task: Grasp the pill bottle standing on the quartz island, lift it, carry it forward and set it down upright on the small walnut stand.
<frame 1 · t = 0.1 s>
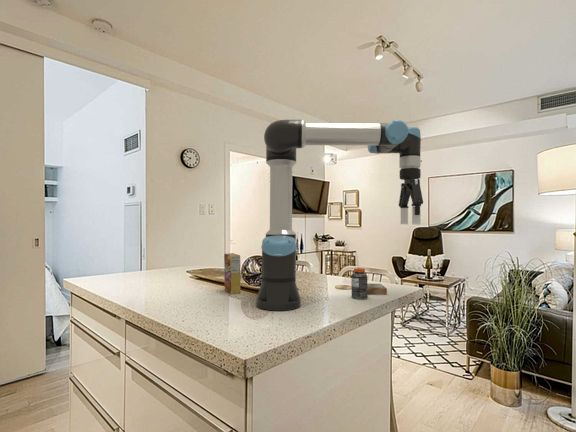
hand: (409, 224, 125), 28 cm above the worktop, fingers open, 13 cm apart
walnut stand: (371, 291, 136), on the worktop
cork coaster: (344, 287, 144), on the worktop
candy box: (232, 292, 134), on the worktop
pill bottle: (359, 298, 125), on the worktop
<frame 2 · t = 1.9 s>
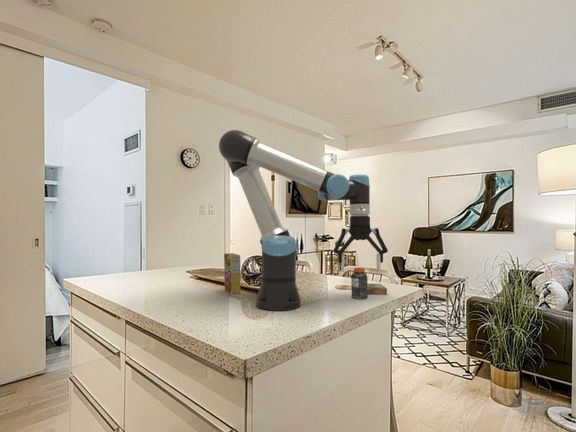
hand: (360, 271, 125), 10 cm above the worktop, fingers open, 13 cm apart
nothing on the worktop moved.
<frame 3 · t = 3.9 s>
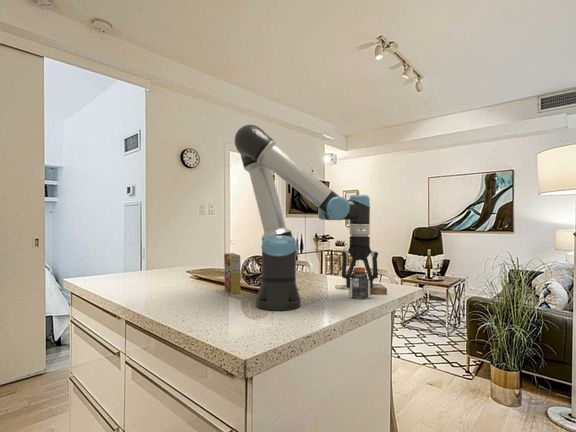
hand: (359, 296, 125), 0 cm above the worktop, fingers closed on pill bottle, 6 cm apart
pill bottle: (359, 298, 125), on the worktop, touching gripper
everything else where it was.
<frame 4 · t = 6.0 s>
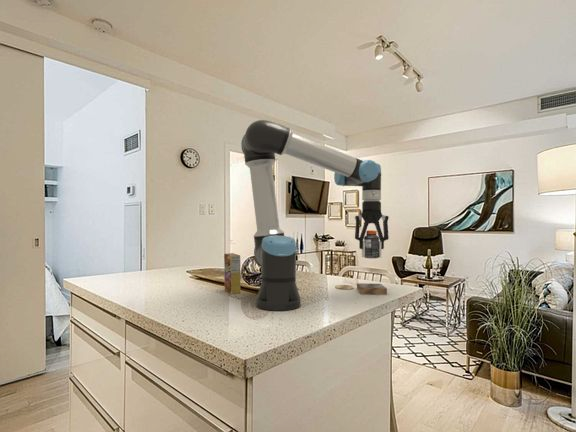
hand: (371, 257, 136), 14 cm above the worktop, fingers closed on pill bottle, 6 cm apart
pill bottle: (371, 258, 136), point 14 cm above the worktop, touching gripper
everything else where it was.
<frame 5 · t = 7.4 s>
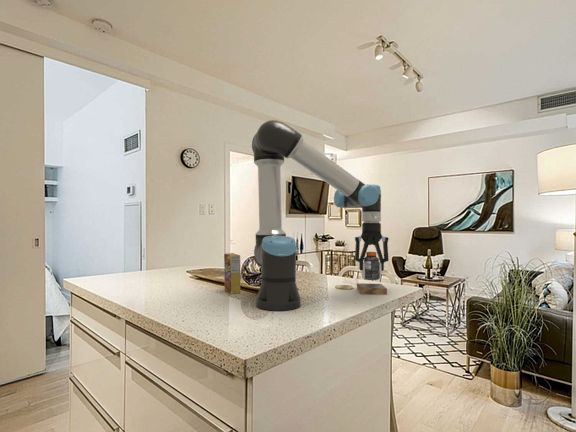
hand: (371, 278, 136), 6 cm above the worktop, fingers closed on pill bottle, 6 cm apart
pill bottle: (371, 279, 136), point 5 cm above the worktop, touching gripper
everything else where it was.
when the fingers open (4 cm above the worktop, at t = 8.4 s): pill bottle drops 1 cm, resting on walnut stand.
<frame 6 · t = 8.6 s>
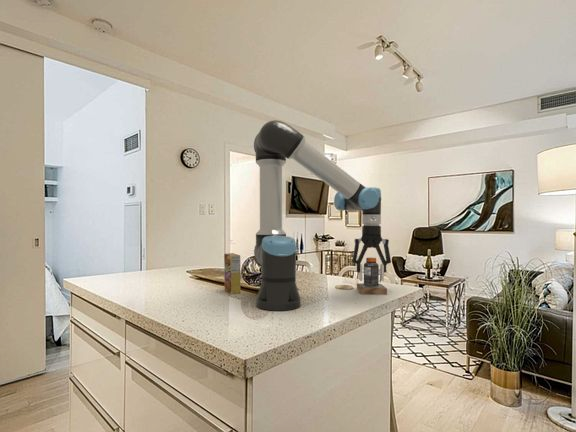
hand: (371, 280, 136), 5 cm above the worktop, fingers open, 8 cm apart
pill bottle: (371, 285, 136), point 2 cm above the worktop, touching walnut stand
everything else where it was.
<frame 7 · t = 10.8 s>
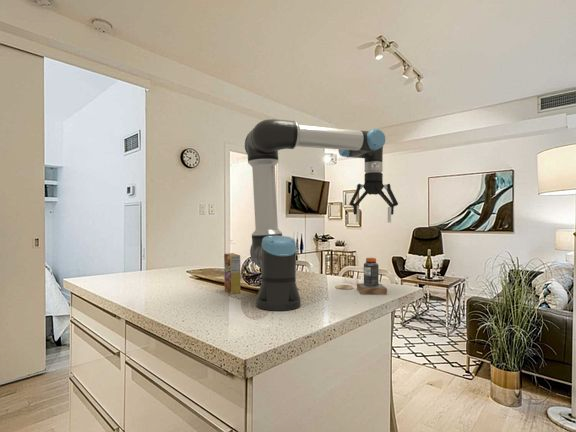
hand: (373, 222, 141), 29 cm above the worktop, fingers open, 13 cm apart
nothing on the worktop moved.
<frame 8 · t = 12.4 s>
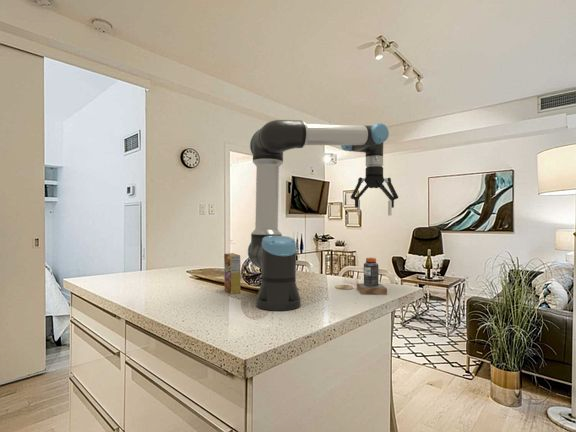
hand: (374, 215, 144), 32 cm above the worktop, fingers open, 13 cm apart
nothing on the worktop moved.
at the end: pill bottle inside the target area on the walnut stand (0.1 cm from its centre), point 2.5 cm above the walnut stand's base; pill bottle tilted 0°; the gripper is holding nothing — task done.
